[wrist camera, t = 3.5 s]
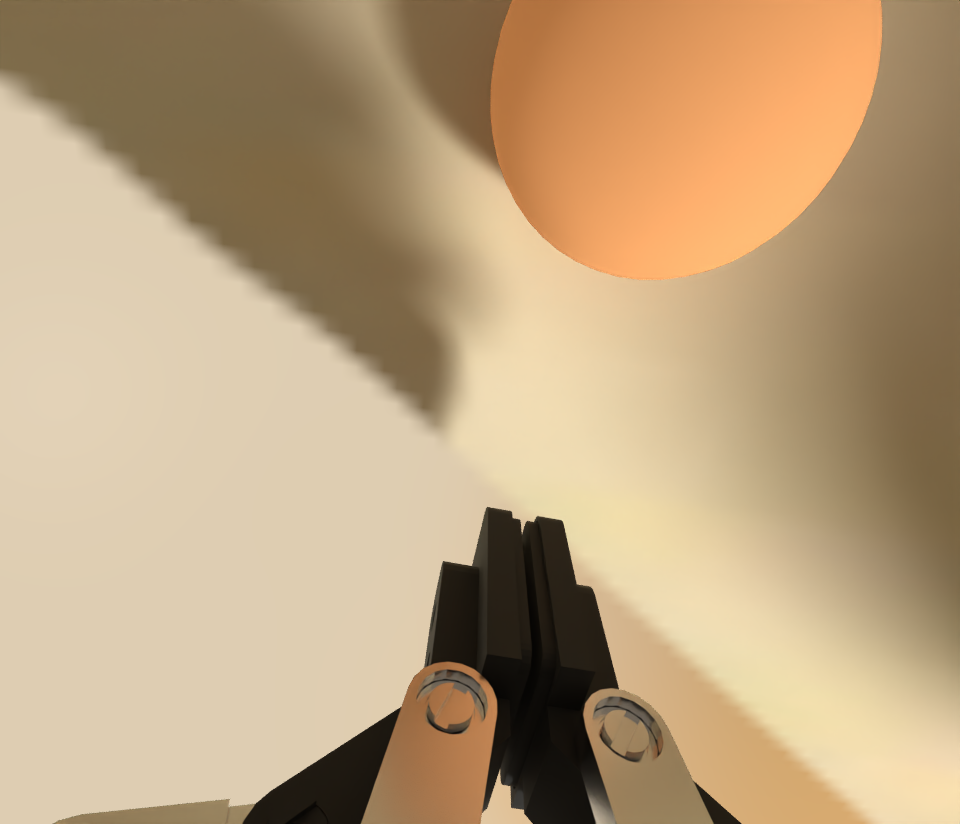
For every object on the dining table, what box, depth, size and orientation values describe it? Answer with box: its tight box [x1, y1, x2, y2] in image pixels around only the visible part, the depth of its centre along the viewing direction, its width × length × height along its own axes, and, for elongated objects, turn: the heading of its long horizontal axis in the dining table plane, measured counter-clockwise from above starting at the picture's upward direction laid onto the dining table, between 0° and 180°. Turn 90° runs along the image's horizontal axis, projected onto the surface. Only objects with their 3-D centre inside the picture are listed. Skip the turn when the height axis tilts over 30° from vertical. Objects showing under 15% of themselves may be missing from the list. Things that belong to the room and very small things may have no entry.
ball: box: [490, 0, 882, 280], centre depth 9 cm, size 6×6×6 cm
